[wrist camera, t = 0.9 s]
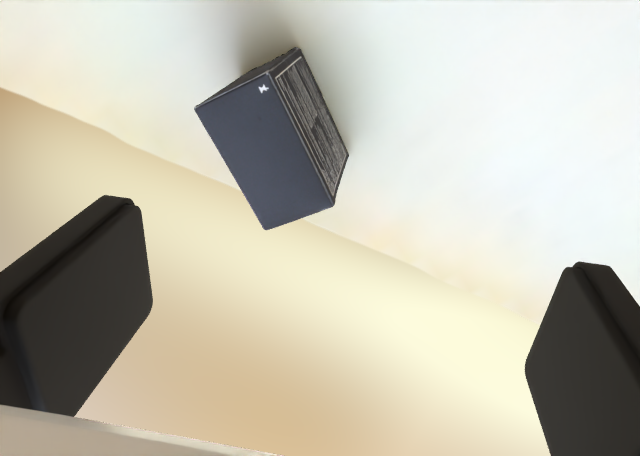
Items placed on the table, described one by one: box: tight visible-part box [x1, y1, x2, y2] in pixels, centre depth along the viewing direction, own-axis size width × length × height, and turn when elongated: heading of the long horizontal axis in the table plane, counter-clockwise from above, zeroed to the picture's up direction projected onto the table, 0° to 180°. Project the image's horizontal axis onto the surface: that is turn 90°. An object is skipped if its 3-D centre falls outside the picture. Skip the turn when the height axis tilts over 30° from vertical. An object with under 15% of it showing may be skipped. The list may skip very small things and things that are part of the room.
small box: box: [194, 47, 349, 230], centre depth 36 cm, size 11×6×10 cm, turn 26°
